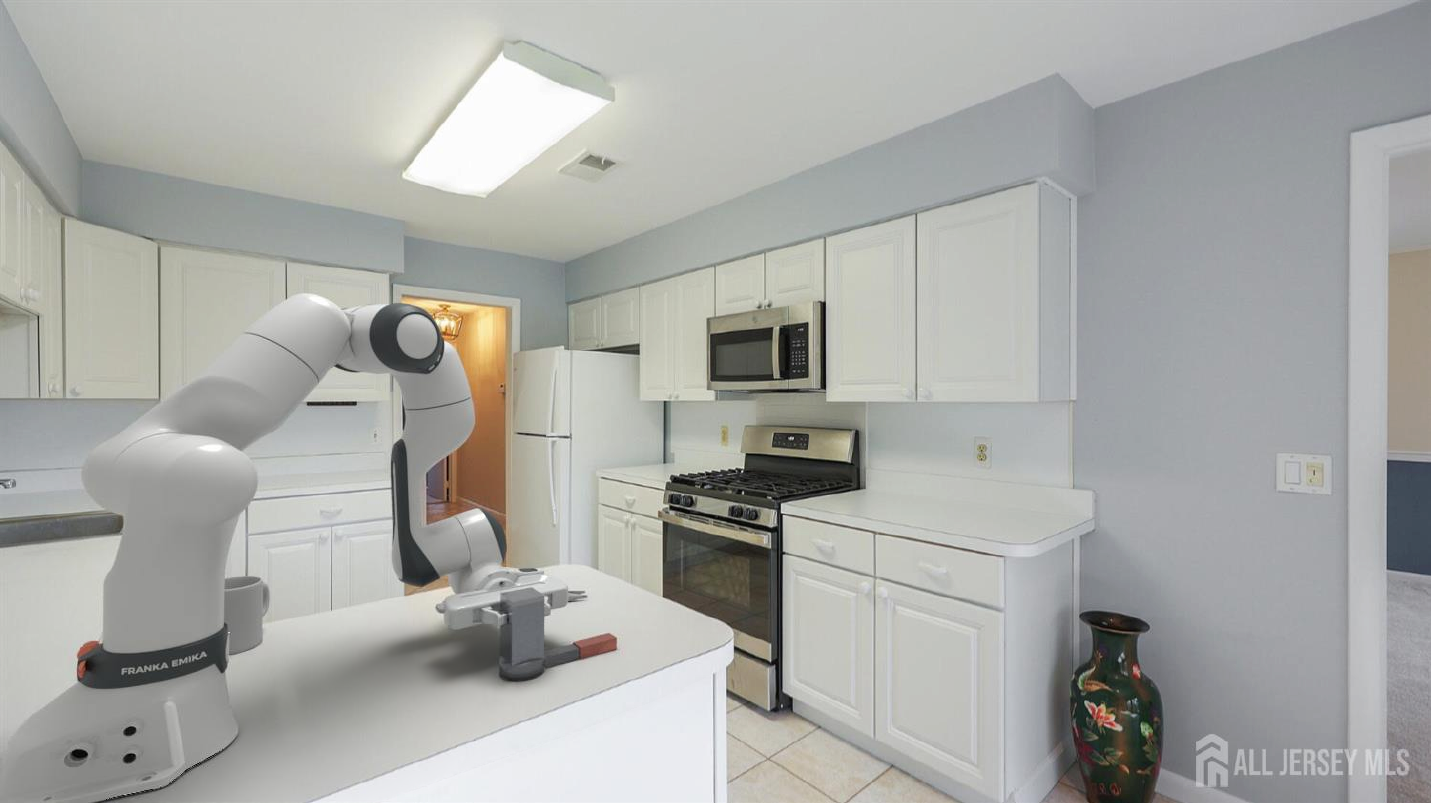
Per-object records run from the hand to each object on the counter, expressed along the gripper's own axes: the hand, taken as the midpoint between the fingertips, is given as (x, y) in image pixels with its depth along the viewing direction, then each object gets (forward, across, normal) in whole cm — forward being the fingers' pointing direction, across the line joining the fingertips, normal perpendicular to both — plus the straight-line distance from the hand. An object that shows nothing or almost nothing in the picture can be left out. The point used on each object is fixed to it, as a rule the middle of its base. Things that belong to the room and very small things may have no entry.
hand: (525, 616), depth 97 cm
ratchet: (-1, +6, +9) cm, 11 cm away
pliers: (-29, +13, +10) cm, 33 cm away
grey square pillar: (-1, 0, +7) cm, 7 cm away
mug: (-41, -35, +10) cm, 55 cm away
